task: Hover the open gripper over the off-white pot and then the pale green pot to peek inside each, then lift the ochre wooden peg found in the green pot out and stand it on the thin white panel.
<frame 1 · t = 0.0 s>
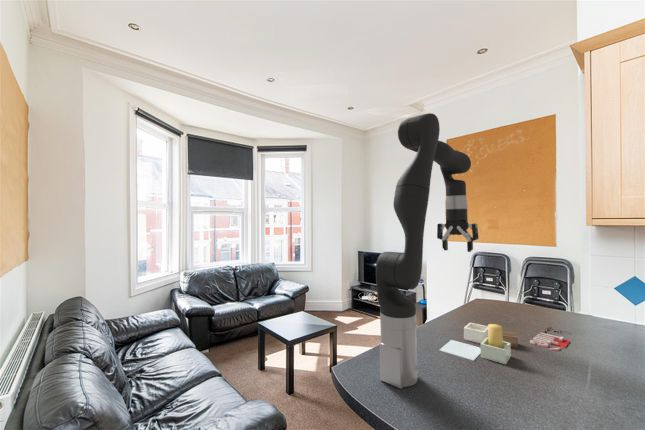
hand: (457, 250, 110), 29 cm above the breakfast bar, fingers open, 8 cm apart
pot green: (495, 358, 86), on the breakfast bar
pot white: (477, 340, 99), on the breakfast bar
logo: (551, 340, 99), on the breakfast bar
walnut block: (509, 346, 94), on the breakfast bar
peg: (495, 356, 86), point 1 cm above the breakfast bar, touching pot green
thin white panel: (461, 351, 91), on the breakfast bar
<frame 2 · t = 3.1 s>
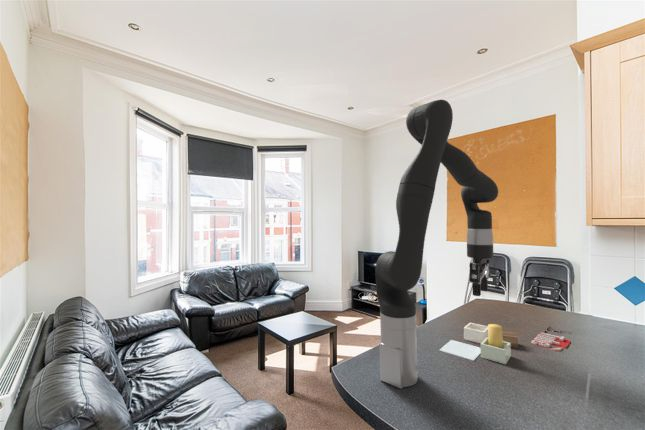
hand: (480, 293, 94), 17 cm above the breakfast bar, fingers open, 8 cm apart
nothing on the breakfast bar moved.
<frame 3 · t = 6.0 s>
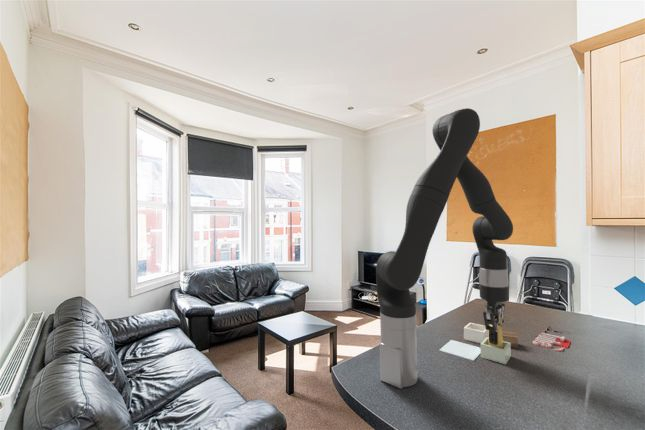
hand: (495, 341, 86), 5 cm above the breakfast bar, fingers closed on peg, 3 cm apart
peg: (495, 356, 86), point 1 cm above the breakfast bar, touching gripper, pot green
everything else where it was.
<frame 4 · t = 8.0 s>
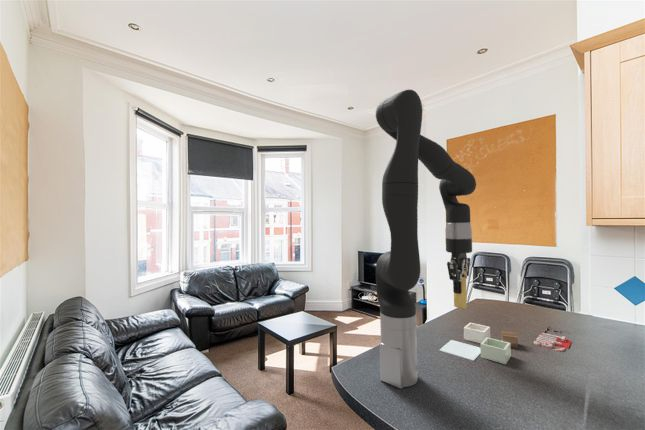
hand: (460, 291, 91), 19 cm above the breakfast bar, fingers closed on peg, 3 cm apart
peg: (460, 306, 91), point 14 cm above the breakfast bar, touching gripper
everything else where it was.
when the fingers open (6 cm above the breakfast bar, at t = 10.2 s): peg stays where it is, resting on thin white panel.
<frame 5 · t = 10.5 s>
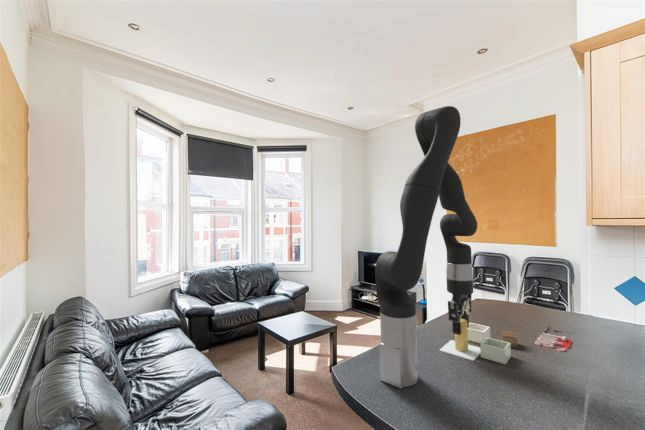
hand: (461, 330, 91), 7 cm above the breakfast bar, fingers open, 6 cm apart
peg: (461, 349, 91), point 1 cm above the breakfast bar, touching thin white panel
everything else where it was.
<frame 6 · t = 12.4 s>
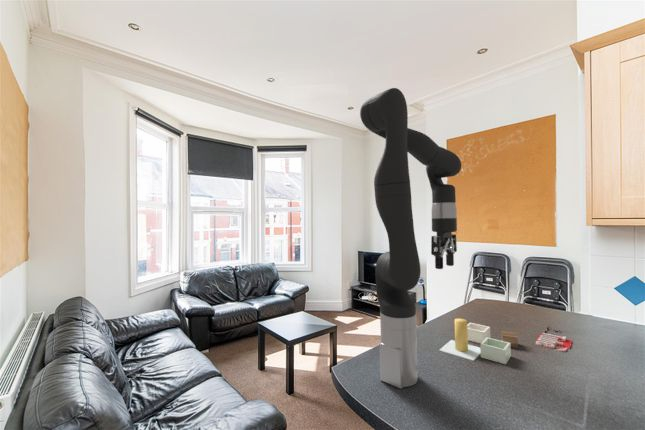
hand: (444, 267, 94), 26 cm above the breakfast bar, fingers open, 8 cm apart
nothing on the breakfast bar moved.
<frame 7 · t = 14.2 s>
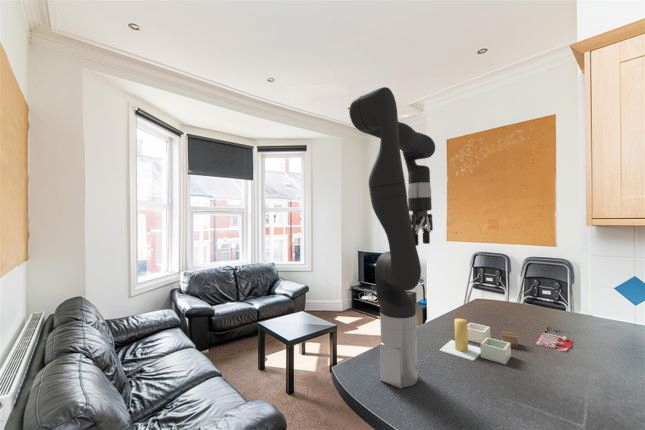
hand: (420, 244, 99), 33 cm above the breakfast bar, fingers open, 8 cm apart
nothing on the breakfast bar moved.
at the end: peg inside the target area on the thin white panel (0.0 cm from its centre), point 0.8 cm above the thin white panel's base; peg tilted 0°; the gripper is holding nothing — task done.
